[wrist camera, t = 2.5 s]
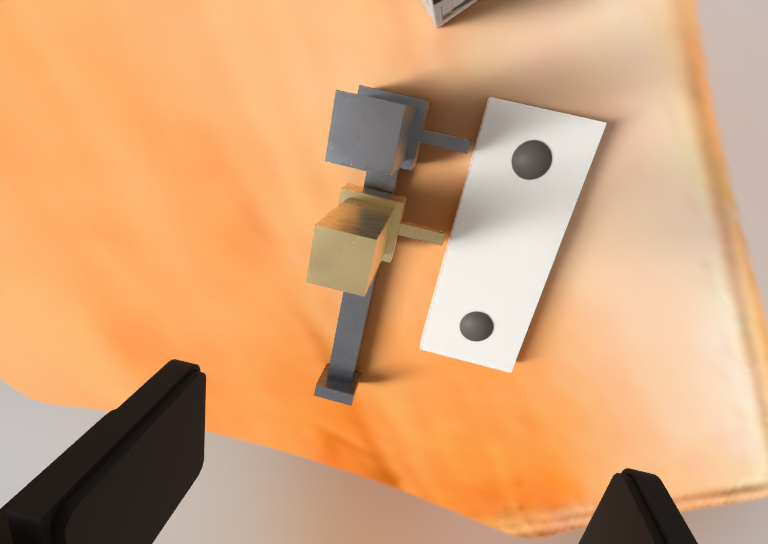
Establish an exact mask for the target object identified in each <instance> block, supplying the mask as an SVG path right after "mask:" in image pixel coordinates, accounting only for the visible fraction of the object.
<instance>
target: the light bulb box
mask: <svg viewBox="0 0 768 544" xmlns="http://www.w3.org/2000/svg"><path fill="white" fill-rule="evenodd" d="M421 1H422V3H423V5H424V6H425V8H426V10H427V12H428V14H429V16H430V18H431V20H432V22H433V24H434V25H435V27H437V28H439V27H440V26H442V25H443V24H445V23H446V22H448V21H449V20H450V19H452V18H453V17H455V16H456V15H458V14H459V13H461V12H462V11H463V10H465V9H466V8H468V7H469V6H471V5H472V4H473V3H475V2H476V1H478V0H421Z"/></svg>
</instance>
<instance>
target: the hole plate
mask: <svg viewBox="0 0 768 544" xmlns="http://www.w3.org/2000/svg"><path fill="white" fill-rule="evenodd" d="M606 124H607V123H606V122H601V121H597V120H592V119H588V118H583V117H579V116H574V115H570V114H565V113H561V112H556V111H552V110H547V109H543V108H538V107H534V106H529V105H525V104H520V103H516V102H511V101H507V100H502V99H498V98H493V97H489V98H488V101H487V104H486V108H485V111H484V115H483V119H482V122H481V126H480V129H479V133H478V136H477V140H476V144H475V147H474V151H473V154H472V158H471V162H470V165H469V169H468V172H467V176H466V179H465V183H464V187H463V190H462V194H461V197H460V201H459V204H458V208H457V212H456V215H455V219H454V222H453V226H452V230H451V233H450V237H449V240H448V244H447V247H446V251H445V255H444V258H443V262H442V265H441V269H440V273H439V276H438V280H437V283H436V287H435V290H434V294H433V298H432V301H431V305H430V308H429V312H428V315H427V319H426V323H425V326H424V330H423V333H422V337H421V342H420V349H421V350H425V351H429V352H433V353H437V354H441V355H444V356H448V357H452V358H456V359H460V360H464V361H467V362H471V363H475V364H479V365H483V366H487V367H490V368H494V369H498V370H502V371H506V372H510V373H511V372H512V369H513V366H514V364H515V361H516V359H517V356H518V353H519V351H520V348H521V346H522V343H523V340H524V338H525V335H526V332H527V330H528V327H529V325H530V322H531V319H532V317H533V314H534V312H535V309H536V306H537V304H538V301H539V299H540V296H541V293H542V291H543V288H544V286H545V283H546V280H547V278H548V275H549V272H550V270H551V267H552V265H553V262H554V259H555V257H556V254H557V252H558V249H559V246H560V244H561V241H562V239H563V236H564V233H565V231H566V228H567V225H568V223H569V220H570V218H571V215H572V212H573V210H574V207H575V205H576V202H577V199H578V197H579V194H580V192H581V189H582V186H583V184H584V181H585V179H586V176H587V173H588V171H589V168H590V165H591V163H592V160H593V158H594V155H595V152H596V150H597V147H598V145H599V142H600V139H601V137H602V134H603V132H604V129H605V126H606Z"/></svg>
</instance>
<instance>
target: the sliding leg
mask: <svg viewBox="0 0 768 544" xmlns="http://www.w3.org/2000/svg"><path fill="white" fill-rule="evenodd" d="M406 200H407V197H403V196H399V195H395V194H391V193H387V192H382V191H378V190H374V189H370V188H366V187H362V186H357V185H353V184H349V183H348V184H347V185H345V186H344V187H343V188H341V194H340V200H339V206H337V207H336V208H335V209H334V210H333V211H331V212H330V213H329V214H328V215H327V216H325V217H324V218H323V219H322V220H320V221H319V222H318V223H317V224H316V225H315V229H314V236H313V242H312V249H311V255H310V262H309V268H308V274H307V281H306V282H308V283H312V284H316V285H320V286H324V287H328V288H332V289H336V290H340V291H344V292H348V293H352V294H355V295H359V296H363V297H365V295H366V293H367V290H368V288H369V286H370V284H371V282H372V280H373V277H374V275H375V273H376V271H377V269H378V267H379V265H380V262H381V261H385V262H389V263H390V262H391V260H392V257H393V255H394V252H395V247H396V243H397V239H398V235H401V236H405V237H409V238H413V239H417V240H421V241H425V242H429V243H433V244H437V245H441V246H442V244H443V240H444V237H445V231H443V230H439V229H435V228H430V227H426V226H422V225H418V224H414V223H410V222H406V221H402V217H403V213H404V208H405V204H406Z"/></svg>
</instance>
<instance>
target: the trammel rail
mask: <svg viewBox="0 0 768 544" xmlns="http://www.w3.org/2000/svg"><path fill="white" fill-rule="evenodd" d="M429 107H430V102H429V101H428V100H424V99H419V98H415V97H410V96H406V95H401V94H397V93H393V92H388V91H384V90H379V89H375V88H370V87H366V86H362V85H359V90H358V94H354V93H349V92H344V91H340V90H336V94H335V100H334V106H333V113H332V119H331V126H330V132H329V139H328V145H327V152H326V158H325V161H326V162H331V163H335V164H339V165H343V166H347V167H352V168H356V169H360V170H364V171H367V173H366V178H365V183H364V187H366V188H370V189H374V190H378V191H382V192H387V193H391V194H395V190H396V185H397V180H398V176H399V171H400V168H401V169H405V170H410V171H412V170H413V168H414V167H415V165H416V162H417V158H418V154H419V150H420V145H421V143H424V144H428V145H432V146H437V147H441V148H445V149H449V150H454V151H458V152H462V153H468V149H469V146H470V142H471V140H470V139H466V138H462V137H458V136H453V135H449V134H445V133H440V132H436V131H431V130H427V129H424V128H425V124H426V120H427V115H428V111H429ZM377 271H378V269H377ZM377 271H376V273H375V275H374V277H373V280H372V282H371V284H370V286H369V288H368V290H367V293H366V295H365V297H363V296H359V295H355V294H352V293H348V292H343V298H342V303H341V308H340V313H339V319H338V324H337V329H336V334H335V339H334V345H333V350H332V355H331V360H330V365H328V364H326V366H325V368H324V370H323V372H322V374H321V376H320V378H319V380H318V382H317V384H316V389H315V394H314V396H318V397H322V398H325V399H329V400H333V401H336V402H340V403H344V404H347V405H352V402H353V399H354V396H355V393H356V390H357V387H358V384H359V381H360V376H361V373H359V372H355V371H356V367H357V362H358V357H359V353H360V348H361V344H362V339H363V335H364V330H365V326H366V321H367V317H368V312H369V308H370V303H371V298H372V294H373V289H374V285H375V280H376V276H377Z"/></svg>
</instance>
